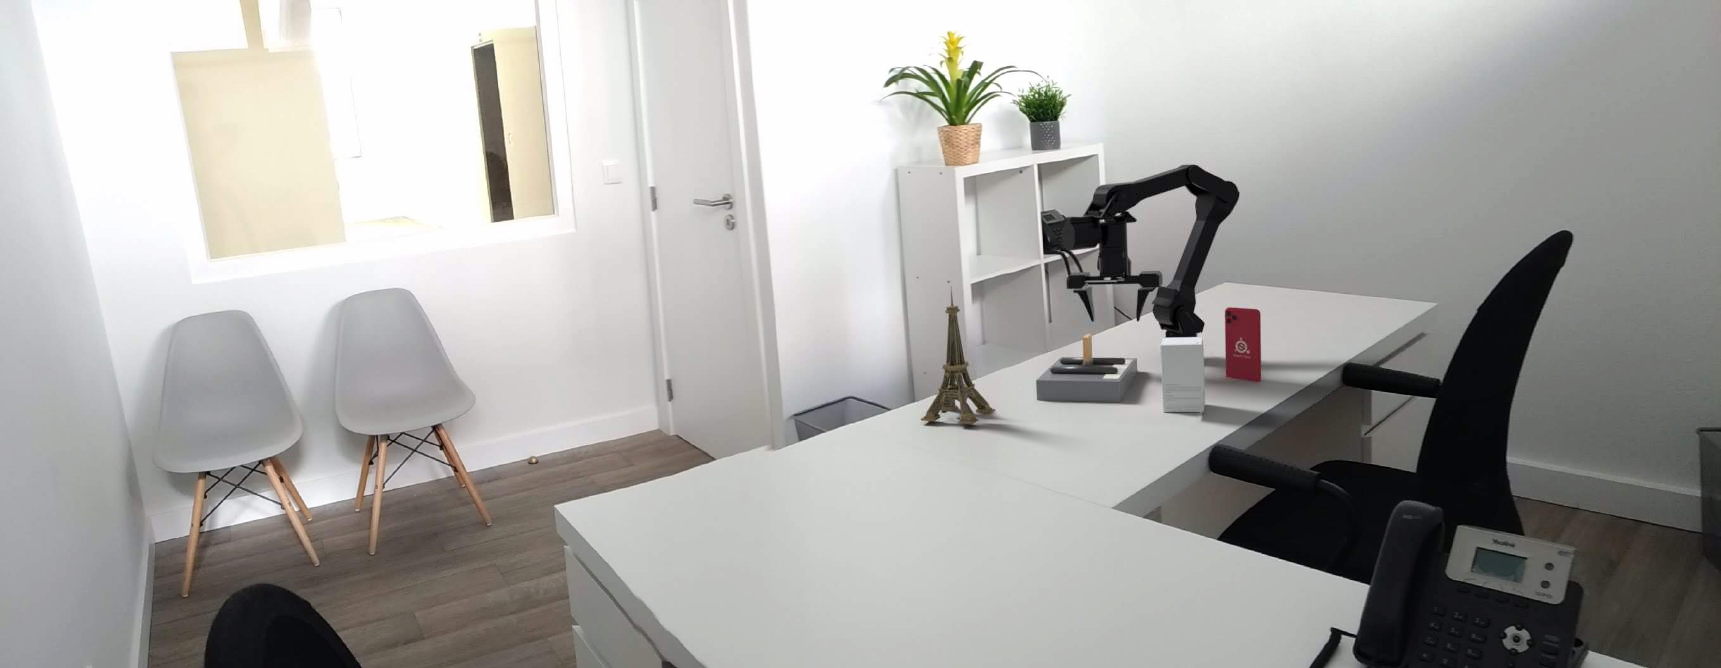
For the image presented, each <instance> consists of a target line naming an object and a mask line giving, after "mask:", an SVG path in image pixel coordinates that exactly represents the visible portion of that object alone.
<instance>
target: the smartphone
mask: <svg viewBox="0 0 1721 668" xmlns="http://www.w3.org/2000/svg"><path fill="white" fill-rule="evenodd" d="M1261 316H1262V315H1261V310H1259V309H1257V308H1248V307H1246V308H1245V307H1232V306H1231V307H1230V306H1229V307H1226V309H1225V310H1224V334H1225V335H1224V339H1225V340H1224V341H1225V344H1224V345H1225V350H1224V351H1225V378H1228V379H1234V380H1241V381H1248V382H1254V383H1261V382H1262V345H1261V344H1262V340H1261V338H1262V333H1261V332H1262V331H1261V327H1262V326H1261V325H1262V324H1261V323H1262V322H1261Z"/></svg>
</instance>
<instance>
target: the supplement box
mask: <svg viewBox="0 0 1721 668" xmlns="http://www.w3.org/2000/svg"><path fill="white" fill-rule="evenodd" d="M1159 346H1160V363H1161V365H1160V367H1161V394H1162V397H1161V398H1162V412H1163V413H1204V412H1205V408H1206V407H1205V406H1206V393H1205V392H1206V390H1205V388H1206V387H1205V385H1206V384H1205V355H1204V354H1205V353H1204V349H1205V348H1204V339H1203V337H1202V336H1198V337H1179V338H1164V337H1163V338H1162V340H1161V343H1160V345H1159Z"/></svg>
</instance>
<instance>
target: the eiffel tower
mask: <svg viewBox="0 0 1721 668" xmlns="http://www.w3.org/2000/svg"><path fill="white" fill-rule="evenodd" d="M952 290H953V289H952V287H950V305H948V306H946V307H945V311H944V313H945V314H948V321H947V338H946V339H947V340H946V341H947V342H946V356H945V357H946V358H945V359H946V360H945V363H943V364H942V369H943V370H944V375H943V379H942V383H941V386H940V387H939V388H937V390H938V391H939V392H938V394H937V395H936V397H935V398H934V400H933V401H932V403H931V405H930V406H929V407H928V409H927V410H926V414H925V415H924V416H923V417H921V418H920V422H921V421H924V422H936V421H937V420H939V419H941V414H939V413H940V412H953V411H955V410H957V409H959V407H960V418H959V419H958V420H959V421H958V424H964V425H973V424H975V423H977V422H979V418H977V416H975V413H976V414H978V413H979V414H991V413H992V412H994V411H996V409H995V408H993V407H992V406H990V404H989V402H987V400H986V399H985V398H984V397H983V395H982V394H980V393H981V392H979V391H978V390H977V389H976V388H975V385H976V383H973V381H972V379H971V378H970V375H969V372H968V368H967V367H969V366H970V365H969V361H968V360H966V361H965V355H964V351H963V342H962V339H961V334H960V333H961V332H960V325H959V320H958V319H959V318H958V313H959V312H960V311H961V310H960V308H959V305H954V299H953V291H952ZM968 399H969V400H970V401H971V402H972V403H973V404H974V405H973V406H975V407H976V409H975V413H974V411H973V410H972V408H971V407H970V405H969V404H968V401H967V400H968ZM956 401H958V402H959V406H958V405H957V404H956Z"/></svg>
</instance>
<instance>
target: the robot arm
mask: <svg viewBox="0 0 1721 668" xmlns="http://www.w3.org/2000/svg"><path fill="white" fill-rule="evenodd" d="M1182 187H1185V189H1186V190H1187V191H1188V192H1189V194H1191V195H1192V196H1194V197H1196V198H1195V199H1196V200H1195V204H1194V207H1195V221H1194V223H1193V226H1192V229H1191V232H1190V234H1189V236H1188V240H1187V242H1186V244H1185V247H1184V250H1183V252H1182V253H1181V257H1180V260H1179V262H1178V265H1177V267H1176V270H1175V273H1174V275H1173V278H1172V280H1171V281H1170V283H1169V284H1168V285H1167V286H1162V285H1163V282H1164V281H1163V273H1162V272H1161V270H1142V271H1141V272H1140V273H1138V274H1132V260H1131V259H1130V257H1129V254H1128V253H1129V252H1128V249H1129V247H1128V224H1130V223H1131V224H1132V223H1136V222H1137V221H1138V220H1137V218H1136V217H1135V216H1133V215H1132V214H1131V212H1130V211H1129V210H1131V209H1132V208H1134V207H1135V206H1137V205H1138V204H1139V203H1140V202H1142V201H1143V200H1145V199H1148V198H1152V197H1156V196H1158V195H1161V194H1163V193H1167V192H1170V191H1174V190H1176V189H1179V188H1180V189H1181V188H1182ZM1240 194H1241V193H1240V191H1239V189H1238V186H1237V184H1235V183H1234V182H1233V181H1231V180H1225V179H1224V178H1221V177H1220V176H1217V175H1216V174H1213V173H1211V172H1209V171H1207V170H1205V169H1204V168H1203V167H1201V166H1199V165H1197V164H1181V165H1180V166H1178V167H1175V168H1172V169H1169V170H1166V171H1162V172H1160V173H1157V174H1153V175H1150V176H1147V177H1144V178H1140V179H1137V180H1135V181H1129V182H1128V181H1127V182H1118V183H1117V182H1116V183H1106V184H1101V185H1098V186H1097V187H1096V188H1095V190H1094V192H1093V194H1092V195H1093V197H1092V200H1091V201H1090V203H1089V205H1088V207H1087V208H1086V209H1085V212H1084V213H1083V215H1082V216H1066V218H1065V221H1066V222H1065V224H1064V225H1063V228H1062V230H1061V231H1062V232H1061V235H1060V236H1061V241H1062V242H1061V244H1062V245H1063V247H1064V249H1065V250H1066V251H1067V252H1070V251H1079V250H1089V249H1095V248H1097V247H1098V255H1097V262H1096V269H1097V271H1098V272H1099V275H1091V274H1090V272H1089V271H1085V272H1083V271H1082V272H1078V271H1077V272H1072V273H1071V274H1068V276H1067V277H1066V279H1065V281H1066V282H1065V284H1066V289H1067V290H1072V293H1074V294H1078V296H1079V298H1080V300H1081V302H1082V303H1083V305H1084V307H1085V310H1086V312H1087V315H1088V316H1089V318H1090V321H1091V322H1092V323H1093V322H1095V320H1096V319H1095V308H1094V299H1093V286H1092V285H1095V286H1096V285H1097V286H1098V285H1101V286H1102V285H1103V286H1104V285H1138V286H1139V288H1138V289H1137V292H1136V293H1137V294H1136V309H1135V310H1136V313H1135V317H1136V322H1140V319H1141V316H1142V313H1143V310H1144V306H1145V304H1146V300H1147V298H1148V296H1149V295H1150V293H1153V292H1154V291H1155V290H1156V289H1157V291H1156V295H1155V298H1154V299H1153V301H1151V304H1152V305H1153V306H1152V314H1153V316H1154V319H1155V320H1156V321H1157V322H1158V325H1159V328H1160V330H1162V331H1165V332H1164V333H1165V336H1164V337H1163V338H1179V337H1199V334H1200V333H1203V331H1204V328H1205V325H1206V322H1205V321H1204V320H1202V319H1201V318H1200V316H1198V315H1197V314H1196V313H1195V309H1196V305H1197V297H1196V286H1197V283H1198V280H1199V278H1200V276H1201V273H1202V271H1203V268H1204V265H1205V262H1206V260H1207V258H1208V255H1209V253H1210V251H1211V248H1212V246H1213V243H1214V241H1215V240H1214V239H1215V237H1216V234H1217V231H1218V229H1219V227H1220V225H1221V224H1222V223H1223V222H1224V221H1225V220H1226V219H1227V218H1228V217H1229V216H1230V215H1231V214H1232V213H1233V210H1234V208H1235V207H1236V206H1237V203H1238V202H1239V200H1240ZM1108 278H1109V279H1108Z"/></svg>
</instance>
